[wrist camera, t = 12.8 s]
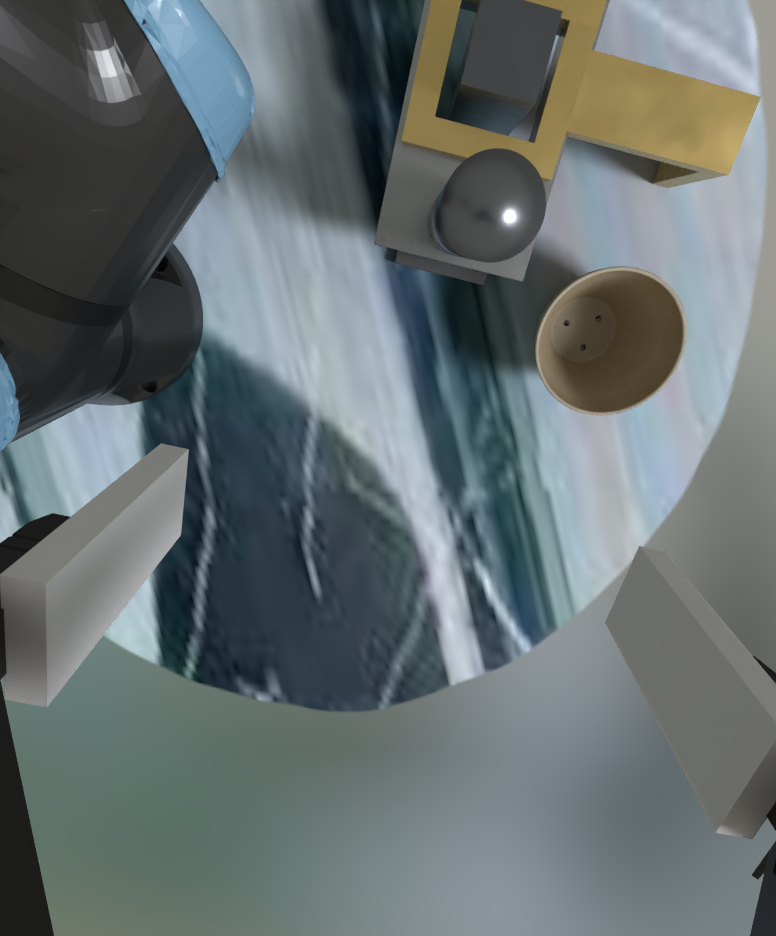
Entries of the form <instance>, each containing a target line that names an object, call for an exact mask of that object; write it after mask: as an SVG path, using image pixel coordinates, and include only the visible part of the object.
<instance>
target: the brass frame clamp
mask: <svg viewBox="0 0 776 936" xmlns="http://www.w3.org/2000/svg"><path fill="white" fill-rule="evenodd" d="M525 1H529V2H532V3H536V4H540V5H543V6H547V7H550V8H554V9H557V10H561V11H563V12H562V15H561V19H560V22H559V26H558V29H557V33H556V35H558V36H559V38H558V41H557V45H556V48H555V51H554V55H553V58H552V62H551V65H550V69H549V72H548V76H547V79H546V83H545V86H544V90H543V93H542V97H541V100H540V104H539V107H538V111H537V114H536V118H535V121H534V125H533V128H532V132H531V135H530V139H529V142H528V141H524V140H521V139H517V138H513V137H509V136H506V135H502V134H498V133H494V132H491V131H487V130H483V129H480V128H476V127H472V126H468V125H465V124H461V123H457V122H453V121H450V120H446V119H442V118H438V117H435V115H436V110H437V106H438V102H439V97H440V93H441V88H442V84H443V80H444V75H445V71H446V67H447V62H448V58H449V53H450V49H451V45H452V40H453V36H454V32H455V27H456V23H457V19H458V14H459V10H460V8H461V9H465V10H469V11H472V12H476V13H477V9H478V6H479V3H480V0H425V2H424V7H423V12H422V17H421V21H420V26H419V31H418V36H417V41H416V45H415V50H414V55H413V60H412V65H411V69H410V74H409V79H408V84H407V88H406V93H405V98H404V103H403V108H402V112H401V117H400V122H399V127H398V132H397V136H396V141H395V146H394V151H393V155H392V160H391V165H390V170H389V175H388V179H387V184H386V189H385V194H384V198H383V203H382V208H381V213H380V218H379V222H378V227H377V232H376V237H375V242H374V244H375V245H379V246H383V247H387V248H391V249H395V250H398V251H397V256H396V260H395V263H397V264H401V265H405V266H409V267H413V268H417V269H421V270H425V271H429V272H433V273H437V274H441V275H445V276H449V277H453V278H457V279H461V280H465V281H469V282H472V283H476V284H480V285H484V284H485V281H486V277H487V274H488V273H490V274H494V275H498V276H502V277H506V278H510V279H514V280H518V281H522V282H523V279H524V276H525V273H526V270H527V266H528V263H529V260H530V257H531V253H532V250H533V247H534V244H535V240H536V237H537V234H538V231H539V230H540V228H541V225H542V222H543V219H544V215H545V210H546V205H547V202H548V198H549V195H550V192H551V189H552V185H553V182H554V179H555V176H556V172H557V169H558V166H559V163H560V159H561V156H562V153H563V150H564V147H565V143H566V140H567V137H571V138H575V139H579V140H582V141H586V142H590V143H594V144H597V145H601V146H605V147H608V148H612V149H616V150H620V151H623V152H627V153H631V154H635V155H638V156H642V157H646V158H649V159H653V160H657V161H661V162H660V165H659V168H658V171H657V173H656V176H655V179H654V181H653V184H656V185H659V186H663V187H667V188H670V187H675V186H679V185H684V184H688V183H693V182H697V181H702V180H707V179H711V178H716V177H720V176H725V175H729V173H730V170H731V168H732V165H733V163H734V160H735V158H736V156H737V153H738V151H739V148H740V146H741V143H742V141H743V139H744V136H745V134H746V131H747V129H748V126H749V124H750V122H751V119H752V117H753V114H754V112H755V110H756V107H757V105H758V102H759V100H760V97H759V96H755V95H752V94H748V93H745V92H741V91H737V90H734V89H730V88H727V87H723V86H719V85H716V84H712V83H709V82H705V81H701V80H698V79H694V78H691V77H687V76H684V75H680V74H676V73H673V72H669V71H666V70H662V69H658V68H655V67H651V66H648V65H644V64H640V63H637V62H633V61H630V60H626V59H623V58H619V57H615V56H612V55H608V54H605V53H601V52H597V51H594V49H595V46H596V43H597V40H598V37H599V33H600V30H601V27H602V24H603V20H604V17H605V14H606V11H607V7H608V4H609V1H610V0H525Z"/></svg>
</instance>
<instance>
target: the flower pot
mask: <svg viewBox="0 0 776 936" xmlns="http://www.w3.org/2000/svg"><path fill="white" fill-rule="evenodd" d="M597 316H599V317H598V318H597V319H596V317H597ZM564 323H567V324H568V326H565V325H564ZM686 337H687V323H686V317H685V313H684V309H683V307H682V304H681V302H680V300H679V298H678V296H677V295H676V293H675V292H674V290H673V289H672V288H671V287H670V286H669V285H668V284H667V283H666V282H665V281H663V280H662V279H661V278H660V277H658V276H656V275H654V274H652V273H650V272H648V271H645V270H642V269H639V268H633V267H622V266H621V267H609V268H604V269H599V270H595V271H592V272H589V273H587V274H584V275H582V276H580V277H578V278H577V279H575V280H573V281H572V282H570V283H569V284H567V285H566V286H564V287H563V288H562V289H561V290H560V291H559V292H558V293H557V294H556V295H555V296H554V297H553V298H552V299H551V300H550V302H549V303H548V304H547V306H546V308H545V309H544V311H543V313H542V315H541V317H540V319H539V322H538V325H537V329H536V333H535V340H534V355H535V362H536V366H537V370H538V373H539V375H540V377H541V380H542V382H543V383H544V385H545V387H546V388H547V390H548V391H549V392H550V393H551V395H552V396H553V397H554V398H556V399H557V400H558V401H559V402H560V403H562V404H563V405H565V406H566V407H568V408H570V409H572V410H575V411H577V412H581V413H585V414H590V415H612V414H617V413H621V412H624V411H627V410H630V409H633V408H635V407H637V406H639V405H641V404H642V403H644V402H646V401H647V400H649V399H650V398H651V397H653V396H654V395H655V394H656V393H657V392H659V391H660V390H661V389H662V388H663V387H664V386H665V384H666V383H667V382H668V381H669V379H670V378H671V377H672V375H673V374H674V372H675V370H676V369H677V367H678V365H679V363H680V360H681V358H682V355H683V352H684V348H685V344H686ZM584 345H585V349H584V348H583V346H584Z"/></svg>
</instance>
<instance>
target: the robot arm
mask: <svg viewBox="0 0 776 936" xmlns="http://www.w3.org/2000/svg"><path fill="white" fill-rule="evenodd" d="M254 110H255V98H254V89H253V85H252V82H251V79H250V76H249V73H248V71H247V69H246V67H245V65H244V64H243V62H242V60H241V58H240V57H239V55H238V53H237V52H236V50H235V49H234V47H233V46H232V44H231V43H230V41H229V40H228V38H227V37H226V36H225V34H224V33H223V31H222V30H221V28H220V27H219V26H218V24H217V23H216V21H215V20H214V19H213V17H212V16H211V15H210V13H209V12H208V11H207V9H206V8H205V7H204V5H203V4H202V3H201V1H200V0H0V451H1V450H3V448H4V447H5V446H6V445H7V444H9V443H11V442H13V441H15V440H17V439H19V438H21V437H23V436H25V435H27V434H29V433H31V432H33V431H35V430H36V429H38V428H40V427H42V426H44V425H46V424H48V423H50V422H52V421H54V420H56V419H58V418H60V417H62V416H64V415H66V414H68V413H70V412H72V411H74V410H75V409H77V408H79V407H81V406H83V405H85V404H97V405H126V404H131V403H136V402H140V401H143V400H146V399H148V398H150V397H152V396H154V395H156V394H158V393H160V392H161V391H163V390H165V389H166V388H168V387H169V386H171V385H172V384H174V383H175V382H176V381H177V380H178V379H179V378H180V377H181V376H182V375H183V374H184V373H185V372H186V371H187V369H188V368H189V366H190V365H191V363H192V361H193V360H194V358H195V356H196V353H197V351H198V348H199V344H200V341H201V336H202V328H203V311H202V303H201V298H200V293H199V290H198V286H197V284H196V281H195V278H194V276H193V274H192V271H191V269H190V268H189V266H188V264H187V262H186V261H185V259H184V257H183V256H182V254H181V253H180V252H179V250H178V249H177V248H176V246H175V245H174V244H173V242H174V240H175V239H176V237H177V236H178V234H179V233H180V231H181V230H182V228H183V227H184V225H185V224H186V222H187V221H188V219H189V218H190V216H191V215H192V213H193V212H194V210H195V209H196V207H197V206H198V204H199V203H200V202H201V200H202V199H203V197H204V196H205V194H206V193H207V191H208V190H209V188H210V187H211V185H212V184H213V182H214V181H216V182H220V181H221V180H222V178H223V177H224V174H225V165H226V163H227V161H228V160H229V158H230V156H231V155H232V153H233V151H234V150H235V148H236V146H237V145H238V143H239V142H240V140H241V138H242V137H243V135H244V133H245V132H246V130H247V128H248V127H249V125H250V123H251V121H252V117H253V114H254ZM188 451H189V449H184V448H179V447H175V446H170V445H165V444H160V445H159V446H158V447H156V448H155V449H154V450H153V451H151V452H150V453H149V454H148V455H146V456H145V457H144V458H143V459H142V460H140V461H139V462H138V463H137V464H135V465H134V466H133V467H132V468H130V469H129V470H128V471H127V472H126V473H124V474H123V475H122V476H121V477H119V478H118V479H117V480H116V481H114V482H113V483H112V484H111V485H110V486H108V487H107V488H106V489H105V490H103V491H102V492H101V493H100V494H98V495H97V496H96V497H95V498H94V499H92V500H91V501H90V502H89V503H87V504H86V505H85V506H84V507H82V508H81V509H80V510H79V511H78V512H76V513H75V514H74V515H73V516H71V517H68V516H63V515H58V514H53V513H52V514H50V515H47V516H44V517H41V518H39V519H36V520H33V521H31V522H29V523H27V524H26V525H24V526H23V527H22V528H20V529H19V530H18V531H16V532H15V533H14V534H13V535H12V537H8V538H7V539H5V540H4V541H3V542H1V543H0V680H1V678H2V677H3V676H4V677H5V678H4V680H5V699H6V700H12V701H17V702H22V703H28V704H33V705H38V706H44V707H48V705H49V704H50V703H51V702H52V700H53V699H54V698H55V696H56V695H57V694H58V693H59V691H60V690H61V689H62V687H63V686H64V685H65V683H66V682H67V681H68V680H69V678H70V677H71V676H72V675H73V673H74V672H75V671H76V669H77V668H78V667H79V665H80V664H81V663H82V662H83V660H84V659H85V658H86V656H87V655H88V654H89V653H90V651H91V650H92V649H93V647H94V646H95V645H96V644H97V642H98V641H99V640H100V638H101V637H102V636H103V635H104V633H105V632H106V631H107V629H108V628H109V627H110V626H111V624H112V623H113V622H114V620H115V619H116V618H117V617H118V615H119V614H120V613H121V611H122V610H123V609H124V608H125V606H126V605H127V604H128V602H129V601H130V600H131V598H132V597H133V596H134V595H135V593H136V592H137V591H138V589H139V588H140V587H141V586H142V584H143V583H144V582H145V580H146V579H147V578H148V577H149V575H150V574H151V573H152V571H153V570H154V569H155V568H156V566H157V565H158V564H159V562H160V561H161V560H162V559H163V557H164V556H165V555H166V553H167V552H168V551H169V550H170V548H171V547H172V546H173V544H174V543H175V542H176V540H177V539H178V538H179V537H180V535H181V526H182V516H183V505H184V494H185V483H186V473H187V462H188ZM605 623H606V625H607V627H608V629H609V631H610V632H611V634H612V636H613V638H614V640H615V642H616V644H617V646H618V648H619V649H620V651H621V653H622V655H623V657H624V659H625V661H626V663H627V665H628V667H629V669H630V670H631V672H632V674H633V676H634V678H635V680H636V682H637V684H638V685H639V687H640V689H641V691H642V693H643V695H644V697H645V699H646V701H647V703H648V705H649V706H650V708H651V710H652V712H653V714H654V716H655V718H656V720H657V722H658V724H659V726H660V727H661V729H662V731H663V733H664V735H665V737H666V739H667V741H668V743H669V745H670V746H671V748H672V750H673V752H674V754H675V756H676V758H677V760H678V762H679V763H680V765H681V767H682V769H683V771H684V773H685V775H686V777H687V778H688V780H689V782H690V784H691V786H692V788H693V790H694V792H695V794H696V795H697V798H698V800H699V801H700V803H701V805H702V807H703V809H704V811H705V812H706V815H707V817H708V818H709V820H710V822H711V824H712V826H713V828H714V830H715V832H716V833H721V834H726V835H732V836H737V837H743V838H748V839H753V838H754V836H755V835H756V833H757V832H758V830H759V829H760V827H761V826H762V825H763V823H764V821H765V820H766V819H767V818H768V819H769V821H770V822H771V824H772V826H773V827H774V829H775V830H776V673H775V672H774V671H772V670H771V669H770V668H768V667H767V666H766V665H765V664H764V663H762V662H761V661H760V660H759V659H757V658H756V657H755V656H752V655H751V654H750V653H749V651H748V650H747V649H746V648H745V647H744V645H743V644H742V643H741V642H740V641H739V639H738V638H737V637H736V636H735V635H734V633H733V632H732V631H731V630H730V629H729V628H728V626H727V625H726V624H725V623H724V622H723V621H722V619H721V618H720V617H719V616H718V615H717V613H716V612H715V611H714V610H713V609H712V607H711V606H710V605H709V604H708V603H707V601H706V600H705V599H704V598H703V597H702V596H701V594H700V593H699V592H698V591H697V590H696V588H695V587H694V586H693V585H692V584H691V582H690V581H689V580H688V579H687V578H686V576H685V575H684V574H683V573H682V572H681V571H680V569H679V568H678V567H677V566H676V565H675V564H674V562H673V561H672V560H671V559H670V558H669V556H668V555H667V554H666V553H665V552H664V551H660V550H655V549H651V548H646V547H641V546H639V548H638V550H637V552H636V555H635V557H634V559H633V561H632V564H631V566H630V568H629V570H628V573H627V575H626V577H625V580H624V582H623V584H622V587H621V589H620V591H619V593H618V595H617V597H616V600H615V602H614V604H613V606H612V609H611V611H610V613H609V615H608V617H607V620H606V622H605ZM762 874H764V877H763V881H762V886H761V890H760V895H759V899H758V903H757V908H756V912H755V917H754V921H753V925H752V930H751V934H750V936H776V842H775V843H774V845H773V846H772V847H771V849H770V850H769V851H768V853H767V854H766V856H765V857H764V859H763V860H762V862H761V863H760V864H759V866H758V867H757V868H756V870H755V871H754V873H753V874H752V876H754V877H755V878H757V879H759V878H760V877H761V876H762ZM0 936H54V934H53V929H52V924H51V919H50V915H49V910H48V905H47V901H46V896H45V891H44V886H43V881H42V876H41V872H40V867H39V862H38V857H37V853H36V848H35V843H34V838H33V834H32V829H31V824H30V819H29V815H28V810H27V805H26V800H25V796H24V791H23V786H22V781H21V777H20V772H19V767H18V762H17V758H16V753H15V748H14V743H13V739H12V734H11V729H10V724H9V719H8V715H7V710H6V705H5V700H4V696H3V691H2V686H1V681H0Z"/></svg>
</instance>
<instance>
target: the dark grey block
mask: <svg viewBox="0 0 776 936" xmlns="http://www.w3.org/2000/svg"><path fill="white" fill-rule="evenodd" d="M562 12H563V11H561V10H557V9H554V8H550V7H547V6H543V5H540V4H536V3H532V2H529V1H525V0H480V3H479V6H478V9H477V13H476V16H475V20H474V23H473V26H472V30H471V33H470V36H469V40H468V43H467V46H466V50H465V53H464V56H463V60H462V63H461V67H460V71H459V76H458V80H457V84H456V88H455V92H454V97H453V101H452V105H451V109H450V114H449V118H448V120H450V121H453V122H457V123H461V124H465V125H468V126H472V127H476V128H480V129H483V130H487V131H491V132H494V133H498V134H502V135H506V136H508V134H509V133H510V132H511V131H512V130H513V129H514V128H515V127H516V126H517V125H518V124H519V122H520V121H521V120H522V119H523V118H524V117H525V116H526V115H527V114H528V113H529V112H530V110H531V109H532V108H533V107H534V106H535V105H536V103H537V99H538V96H539V92H540V89H541V85H542V82H543V78H544V75H545V71H546V68H547V64H548V61H549V57H550V54H551V50H552V47H553V43H554V40H555V36H556V33H557V29H558V26H559V22H560V19H561V15H562Z"/></svg>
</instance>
